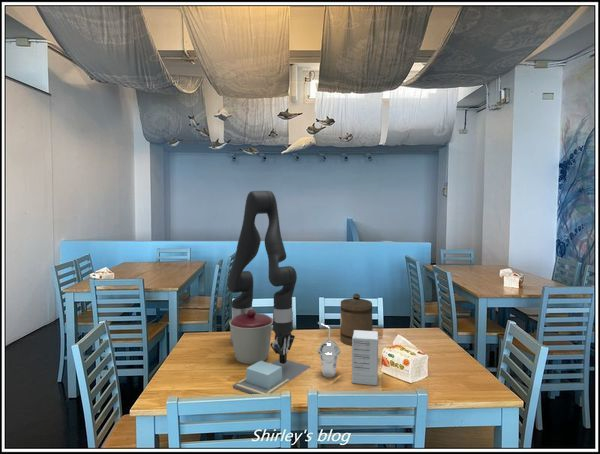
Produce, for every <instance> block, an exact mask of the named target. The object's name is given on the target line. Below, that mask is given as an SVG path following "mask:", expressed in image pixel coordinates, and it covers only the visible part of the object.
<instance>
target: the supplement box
mask: <svg viewBox="0 0 600 454" xmlns="http://www.w3.org/2000/svg"><path fill="white" fill-rule="evenodd" d="M378 337H379V332H378V331H376V330H372V331H361V330H354V334H353V337H352V345H351V383H352V384H358V385H371V386H378V379H379V377H378V376H379V375H378V373H379V372H378V370H379V338H378Z"/></svg>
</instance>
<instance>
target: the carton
mask: <svg viewBox="0 0 600 454" xmlns="http://www.w3.org/2000/svg"><path fill="white" fill-rule="evenodd" d="M271 363H272V362H271ZM271 363H270V362H267V361H259V362H257V363H255V364H250V366H247V367H246V370H245V371H246V372H245V374H246V375H245V378H246V382H249V383H252V384H255V385H257V386H260V387H263V388H266V389H269V388H271V387H272V386H274V385H276V384H277V383H279V382H280V381H282V367H280V366H277V365H274V364H271Z"/></svg>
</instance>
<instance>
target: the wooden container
mask: <svg viewBox="0 0 600 454" xmlns="http://www.w3.org/2000/svg"><path fill="white" fill-rule="evenodd" d="M339 328H340V331H339V332H340V333H339V334H340V337H339V338H340V339H339V340H340V341H341V343H343V344H345V345H349V346H352V337H353V334H354V330H361V331H373V302H372V301H371V300H368V299H364V298H361V294H359V293H354V294H353V295H352V298H345V299H342V300H340V324H339Z"/></svg>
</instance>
